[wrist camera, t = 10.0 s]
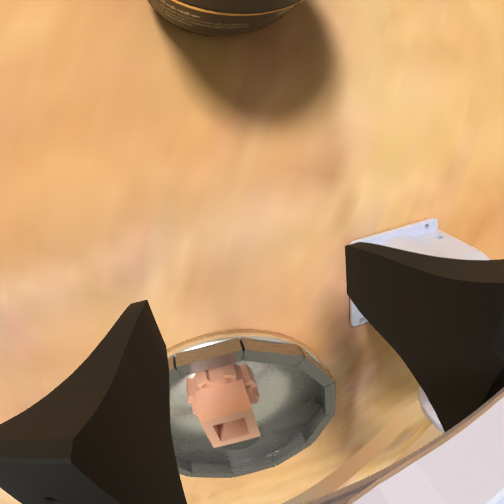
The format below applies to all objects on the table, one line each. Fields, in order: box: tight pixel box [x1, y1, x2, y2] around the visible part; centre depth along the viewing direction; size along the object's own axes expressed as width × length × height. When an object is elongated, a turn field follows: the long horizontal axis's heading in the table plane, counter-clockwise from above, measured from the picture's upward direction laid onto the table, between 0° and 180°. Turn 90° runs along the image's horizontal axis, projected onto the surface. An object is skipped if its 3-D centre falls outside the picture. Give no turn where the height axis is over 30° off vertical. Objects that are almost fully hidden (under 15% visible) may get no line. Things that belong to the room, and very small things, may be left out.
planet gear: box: [186, 363, 261, 448], centre depth 22 cm, size 5×5×5 cm
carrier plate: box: [167, 329, 335, 478], centre depth 25 cm, size 19×19×5 cm
